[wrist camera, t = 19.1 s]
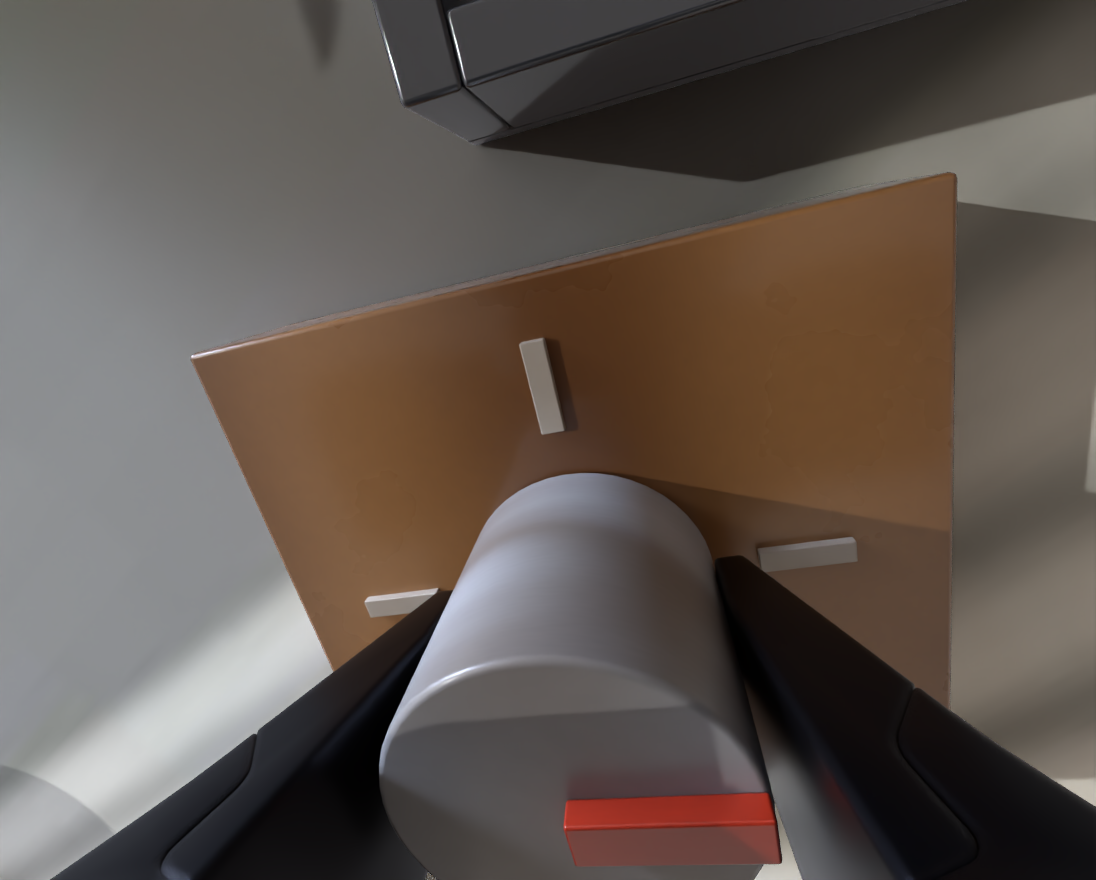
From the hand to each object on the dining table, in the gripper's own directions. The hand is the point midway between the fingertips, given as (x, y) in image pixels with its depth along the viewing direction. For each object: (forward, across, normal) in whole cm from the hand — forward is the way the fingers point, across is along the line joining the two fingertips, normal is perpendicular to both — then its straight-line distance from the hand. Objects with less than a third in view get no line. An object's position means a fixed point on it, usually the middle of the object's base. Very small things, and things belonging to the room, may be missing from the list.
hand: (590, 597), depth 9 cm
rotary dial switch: (+4, 0, 0) cm, 4 cm away
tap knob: (0, 0, 0) cm, 0 cm away
